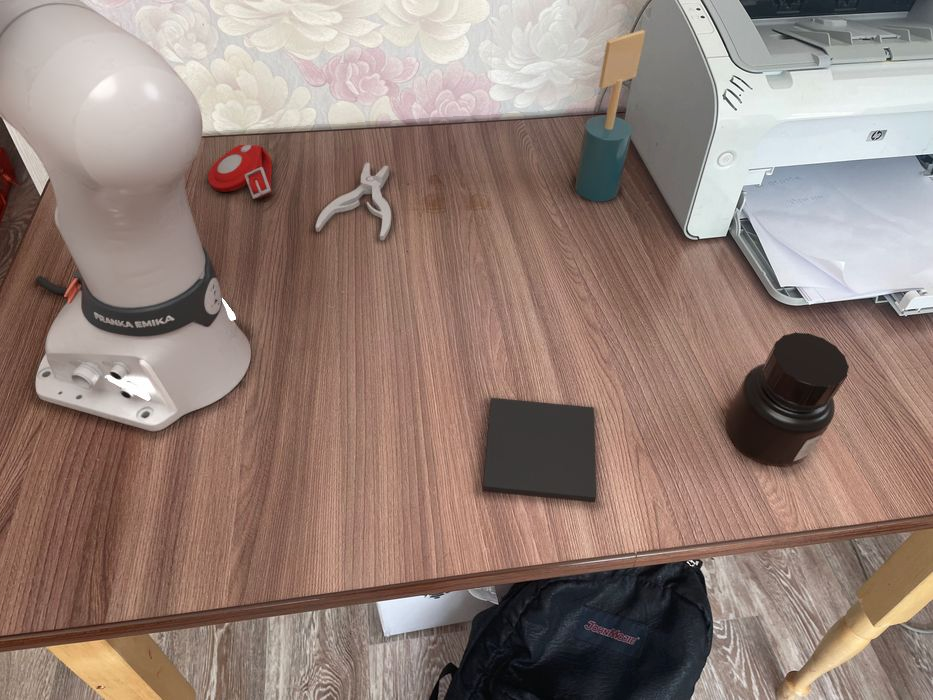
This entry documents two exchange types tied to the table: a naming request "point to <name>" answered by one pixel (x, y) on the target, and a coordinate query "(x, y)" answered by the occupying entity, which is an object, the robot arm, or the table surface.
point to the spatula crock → (609, 124)
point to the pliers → (367, 187)
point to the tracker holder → (243, 171)
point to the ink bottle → (787, 400)
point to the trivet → (541, 450)
